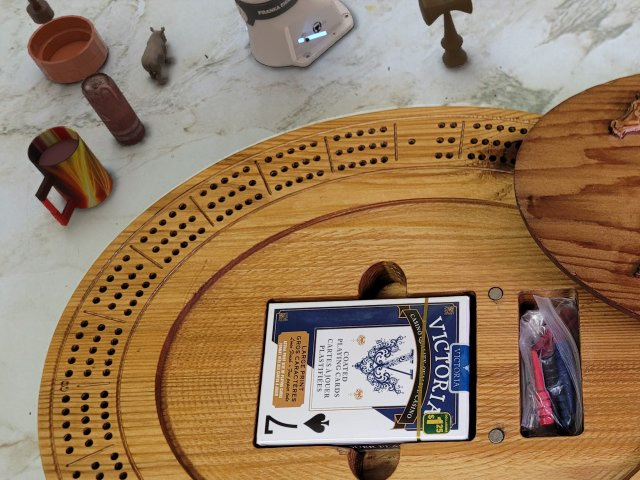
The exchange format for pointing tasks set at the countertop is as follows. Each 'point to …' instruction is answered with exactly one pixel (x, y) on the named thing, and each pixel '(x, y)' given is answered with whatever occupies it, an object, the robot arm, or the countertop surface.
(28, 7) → the disc-capped wooden dowel
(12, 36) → the countertop surface
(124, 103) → the can
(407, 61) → the countertop surface
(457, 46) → the kendama
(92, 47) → the bowl
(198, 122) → the countertop surface
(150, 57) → the rhino figurine
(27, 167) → the countertop surface
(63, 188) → the mug
